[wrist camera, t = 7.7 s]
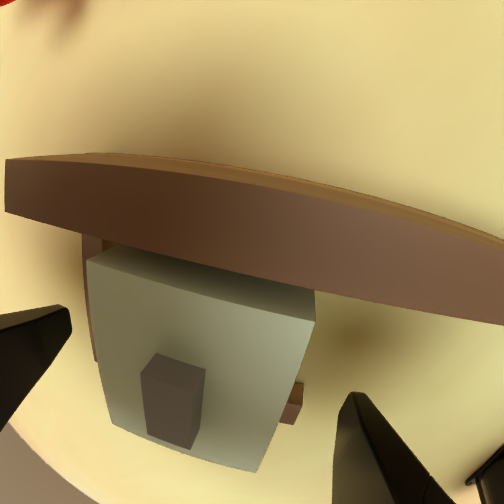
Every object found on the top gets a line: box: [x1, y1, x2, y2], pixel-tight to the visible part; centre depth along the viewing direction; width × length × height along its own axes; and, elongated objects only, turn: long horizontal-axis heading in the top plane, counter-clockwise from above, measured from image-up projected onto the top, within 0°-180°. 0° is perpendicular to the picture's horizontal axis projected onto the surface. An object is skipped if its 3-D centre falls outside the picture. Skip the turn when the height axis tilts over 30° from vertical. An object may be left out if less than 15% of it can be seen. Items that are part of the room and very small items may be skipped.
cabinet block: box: [86, 244, 315, 473], centre depth 9 cm, size 6×5×7 cm
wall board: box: [5, 153, 504, 425], centre depth 8 cm, size 10×23×6 cm, turn 80°
